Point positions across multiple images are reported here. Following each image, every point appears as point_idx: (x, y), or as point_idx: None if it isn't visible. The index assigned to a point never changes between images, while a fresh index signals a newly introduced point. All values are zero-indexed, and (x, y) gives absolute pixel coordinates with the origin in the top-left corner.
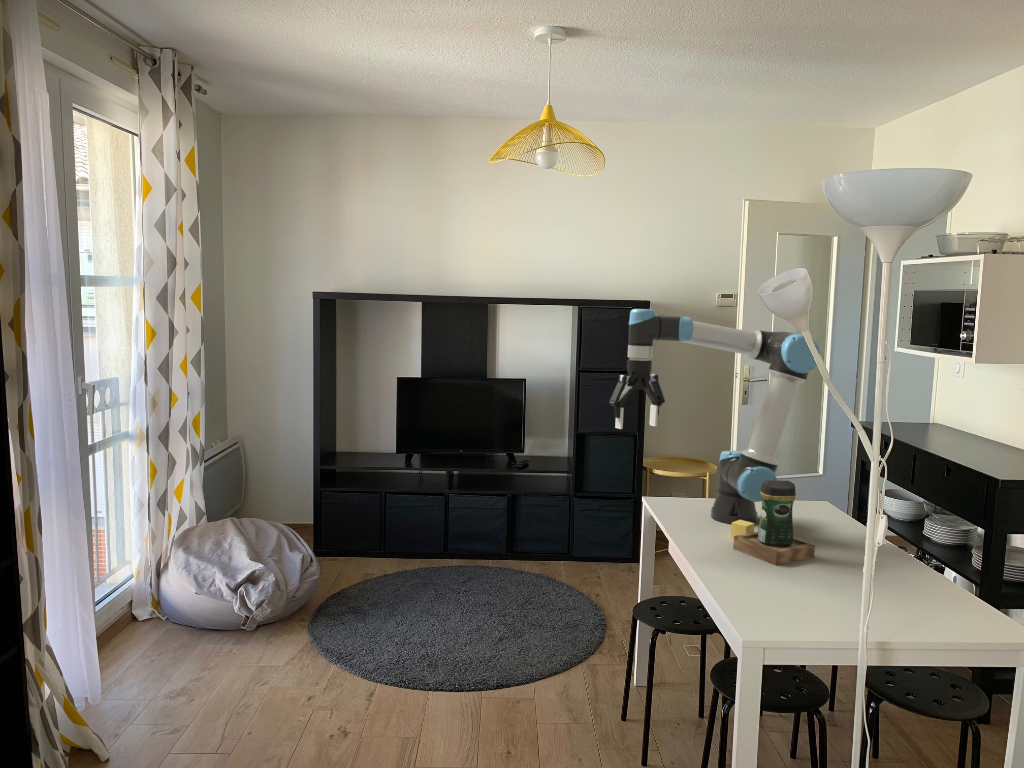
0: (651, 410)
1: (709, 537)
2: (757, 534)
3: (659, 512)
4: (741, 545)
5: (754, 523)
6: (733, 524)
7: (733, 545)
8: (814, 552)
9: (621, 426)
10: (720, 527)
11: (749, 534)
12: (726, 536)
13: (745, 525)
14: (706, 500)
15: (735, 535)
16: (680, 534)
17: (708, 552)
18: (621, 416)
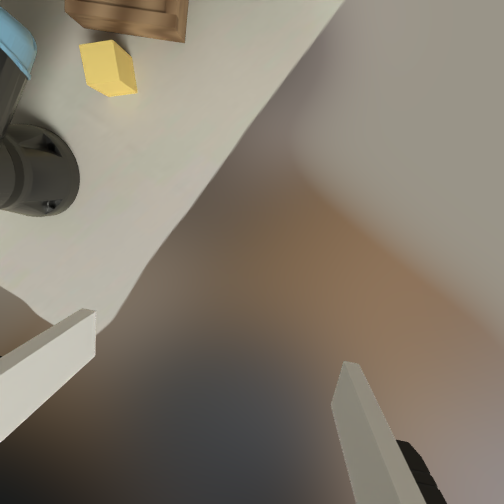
0: (5, 422)
1: (170, 120)
2: (119, 7)
3: (135, 277)
4: (182, 10)
5: (79, 45)
6: (120, 76)
7: (182, 38)
8: None
9: (356, 374)
10: (104, 150)
11: (137, 14)
12: (137, 104)
13: (109, 45)
14: (4, 277)
15: (131, 78)
16: (203, 166)
17: (245, 55)
18: (390, 435)
